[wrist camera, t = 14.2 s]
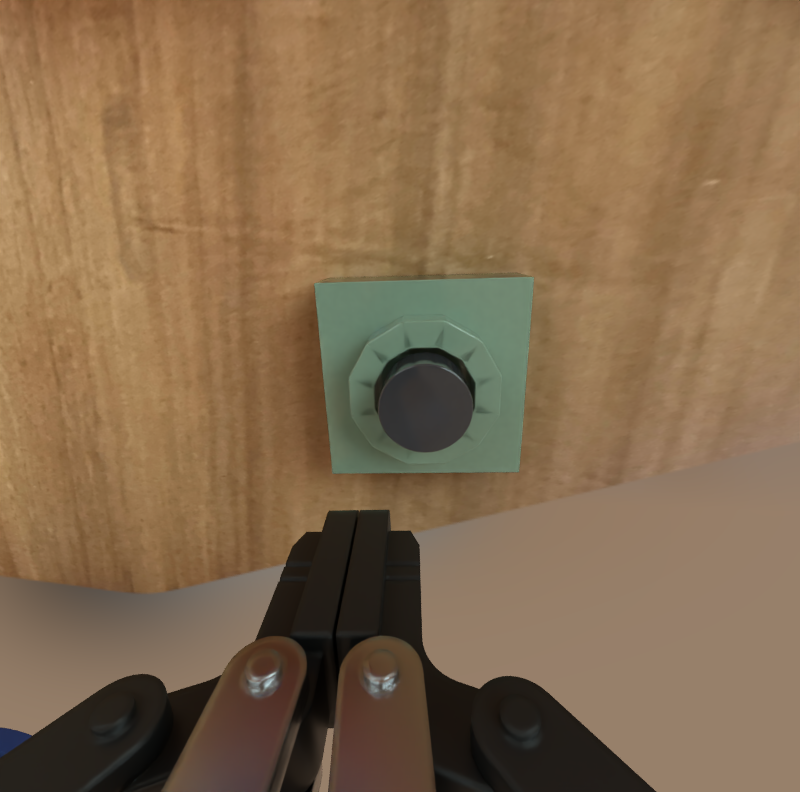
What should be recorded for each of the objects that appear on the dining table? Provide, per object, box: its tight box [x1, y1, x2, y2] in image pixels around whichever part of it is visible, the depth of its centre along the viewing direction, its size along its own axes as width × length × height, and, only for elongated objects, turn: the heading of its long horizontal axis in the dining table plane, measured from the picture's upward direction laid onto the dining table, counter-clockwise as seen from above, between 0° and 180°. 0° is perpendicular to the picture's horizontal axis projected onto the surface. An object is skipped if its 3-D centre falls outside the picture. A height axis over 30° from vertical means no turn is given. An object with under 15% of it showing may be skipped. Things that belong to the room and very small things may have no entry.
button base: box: [314, 273, 534, 474], centre depth 21 cm, size 10×10×5 cm
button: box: [378, 352, 473, 453], centre depth 18 cm, size 4×4×2 cm
